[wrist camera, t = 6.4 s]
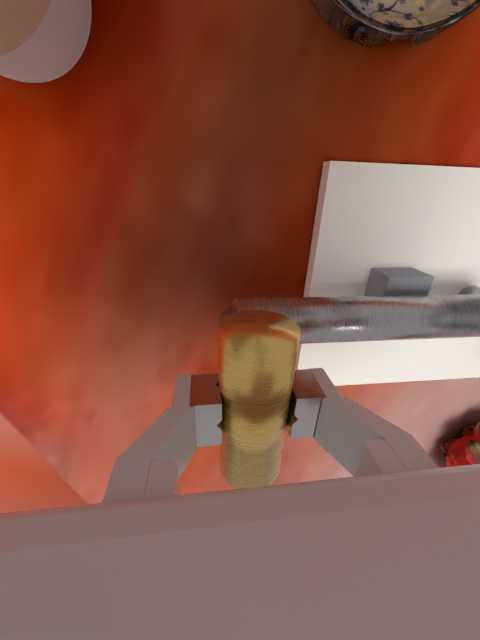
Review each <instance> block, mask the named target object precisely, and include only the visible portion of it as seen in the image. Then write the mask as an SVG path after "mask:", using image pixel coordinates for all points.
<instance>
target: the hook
mask: <svg viewBox="0 0 480 640" xmlns="http://www.w3.org/2000/svg"><path fill="white" fill-rule="evenodd" d="M217 332H218V342H219V388H220V391H221V400H222V420H221V425H222V444H221V445H219V467H220V470H221V473H222V475H223V477H224V478H225V479H226V481H227V482H228V483H230V484H231V485H232V486H234V487H235V488H237V489H241V488H251V487H261V486H270V485H271V484H272V483H273V482H274V481H275V480H276V478H277V476H278V474H279V470H280V464H281V458H282V451H283V445H284V438H285V432H286V425H287V419H288V412H289V406H290V399H291V393H292V386H293V379H294V373H295V366H296V360H297V353H298V347H299V344H308V343H335V342H361V341H387V340H413V339H439V338H466V337H480V287H478V286H475V285H470V286H467V287H465V288H464V289H462V290H461V291H460V292H459V294H458V295H401V296H340V297H279V298H234V301H233V306H232V307H229V308H227V309H225V310H223V311H222V312H221V313H220V315H219V316H218V319H217Z"/></svg>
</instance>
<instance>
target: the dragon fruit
mask: <svg viewBox="0 0 480 640" xmlns="http://www.w3.org/2000/svg"><path fill="white" fill-rule="evenodd" d="M463 434H464V436H463V437H462V438H460V439H450V440H449V441H448V442H447V443H446V444H445V445H444V446H443V443H444V442H442V444H441V450H442V451H443V452H444V453H446V454H448V455H446V456H445V459H446V460H447V465H446V467H454V466H464V465H473V464H480V422H479V423H478V424H477V426H473V425H467V426H465V427H464V429H463Z"/></svg>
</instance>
